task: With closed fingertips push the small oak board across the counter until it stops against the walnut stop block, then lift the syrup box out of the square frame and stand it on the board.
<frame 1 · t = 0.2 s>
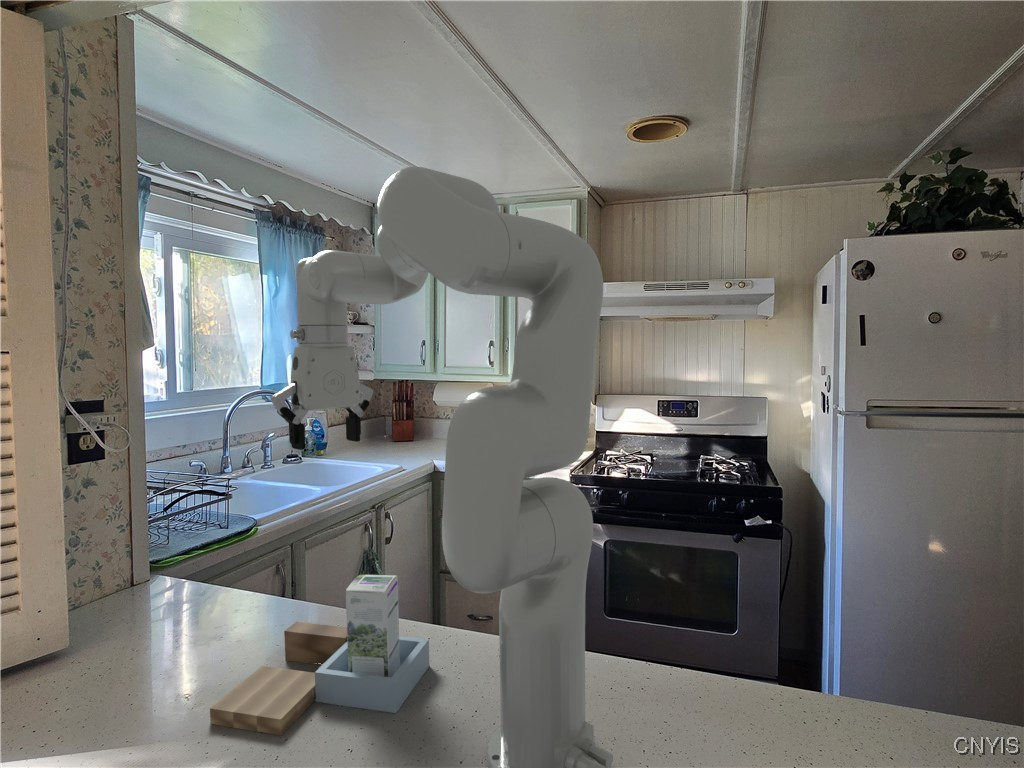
hand: (326, 444, 95), 31 cm above the counter, fingers open, 9 cm apart
board: (271, 705, 77), on the counter
syrup box: (375, 684, 82), resting in square frame
square frame: (375, 682, 82), on the counter
stop: (320, 658, 88), on the counter
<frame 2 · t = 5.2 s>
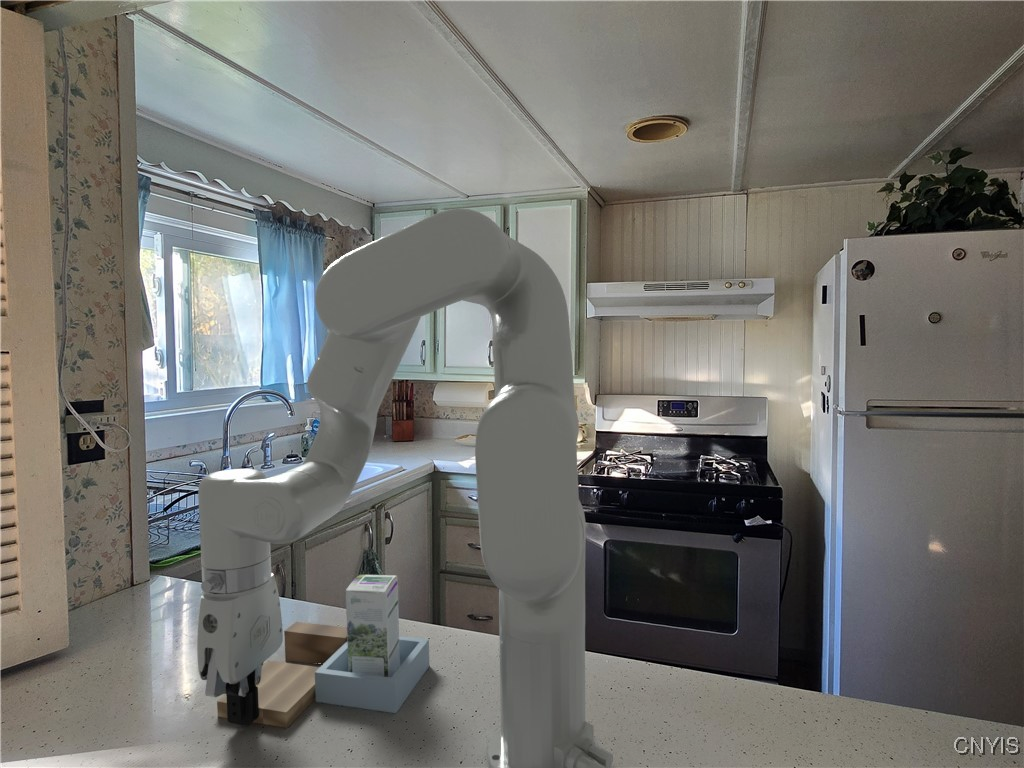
hand: (243, 720, 72), 1 cm above the counter, fingers closed
board: (277, 698, 79), on the counter, touching gripper
everything else where it was.
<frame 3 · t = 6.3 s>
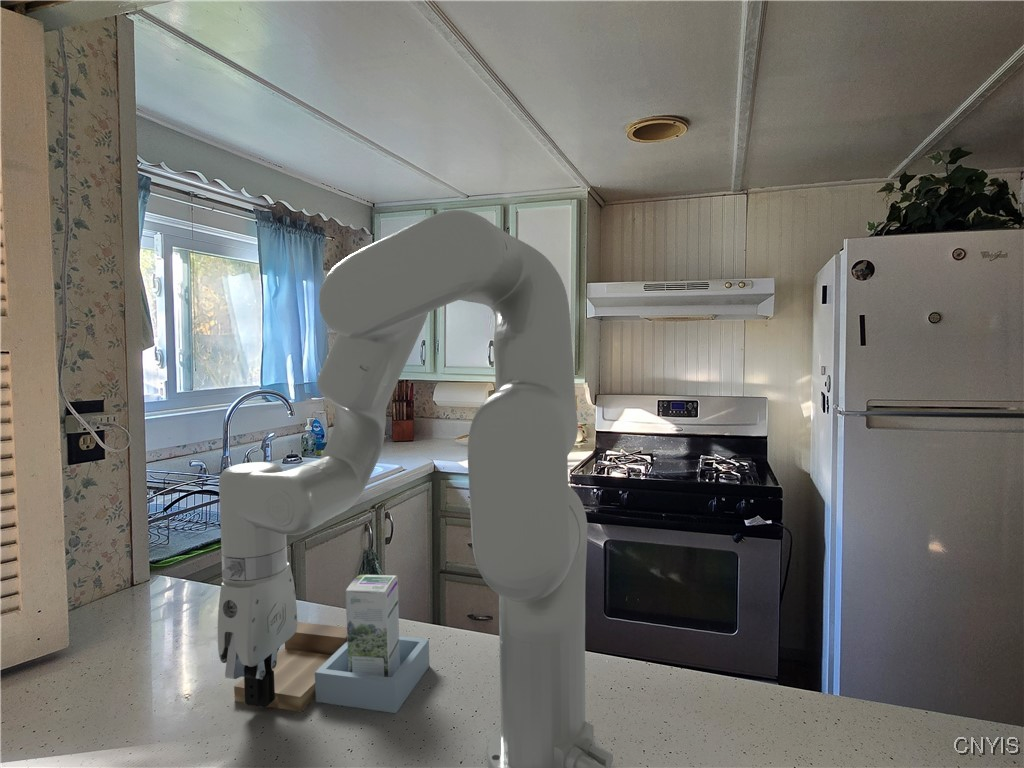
hand: (260, 702, 76), 1 cm above the counter, fingers closed
board: (291, 684, 82), on the counter, touching gripper
everything else where it was.
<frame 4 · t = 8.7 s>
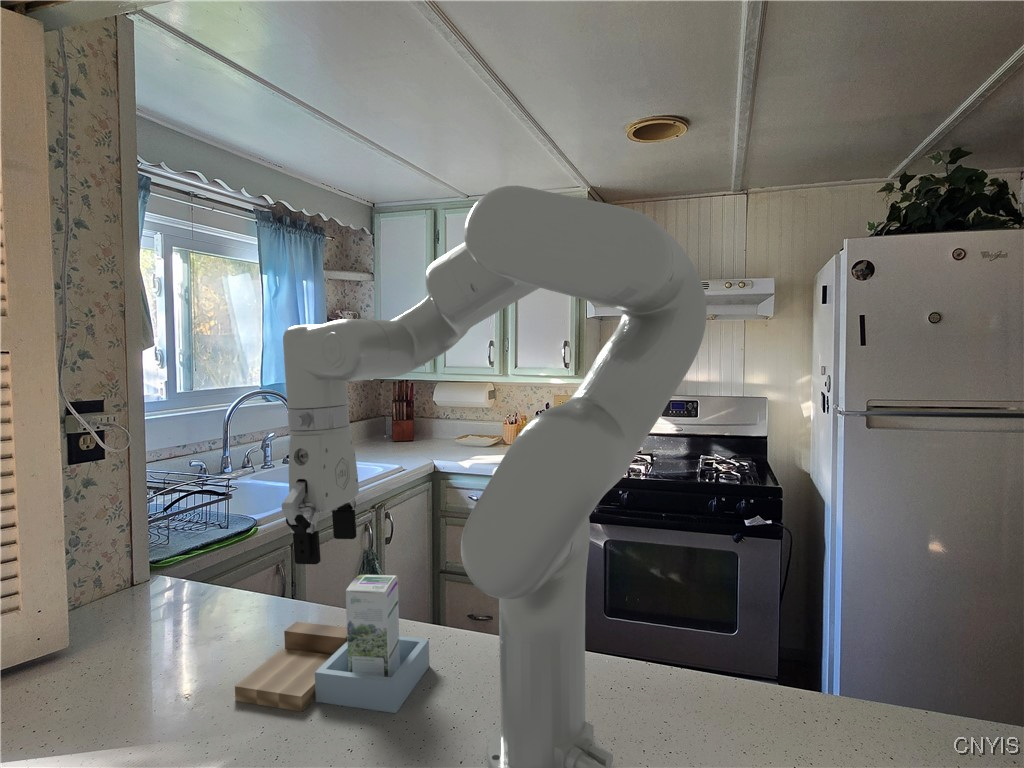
hand: (327, 550, 78), 20 cm above the counter, fingers open, 9 cm apart
board: (291, 684, 82), on the counter
everything else where it was.
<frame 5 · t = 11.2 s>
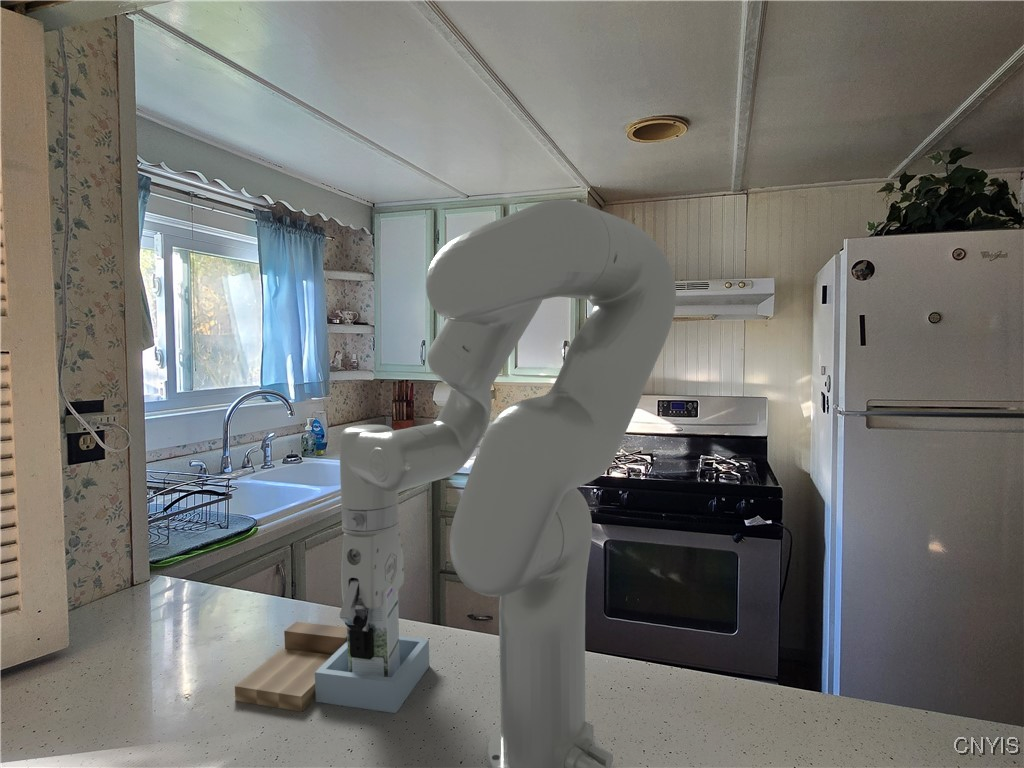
hand: (374, 643, 82), 6 cm above the counter, fingers closed on syrup box, 6 cm apart
syrup box: (375, 684, 82), resting in square frame, touching gripper
everything else where it was.
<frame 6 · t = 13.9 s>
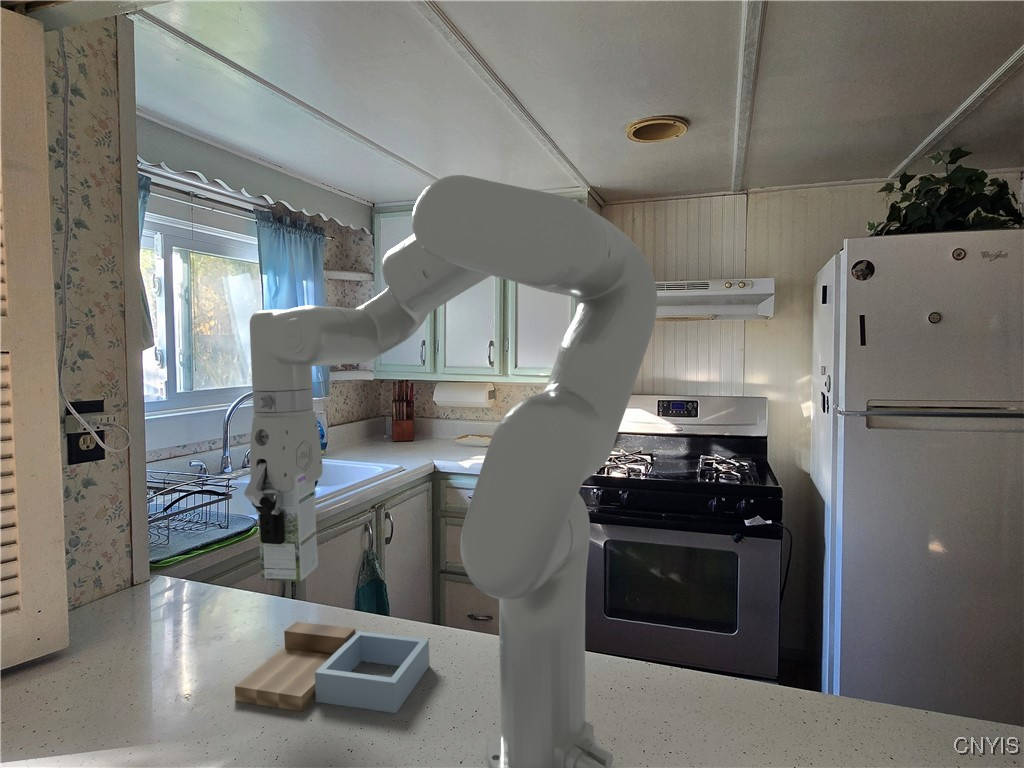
hand: (288, 533, 80), 21 cm above the counter, fingers closed on syrup box, 6 cm apart
syrup box: (290, 575, 81), point 15 cm above the counter, touching gripper
everything else where it was.
when the fingers open (8 cm above the counter, at t = 16.7 s): syrup box stays where it is, resting on board.
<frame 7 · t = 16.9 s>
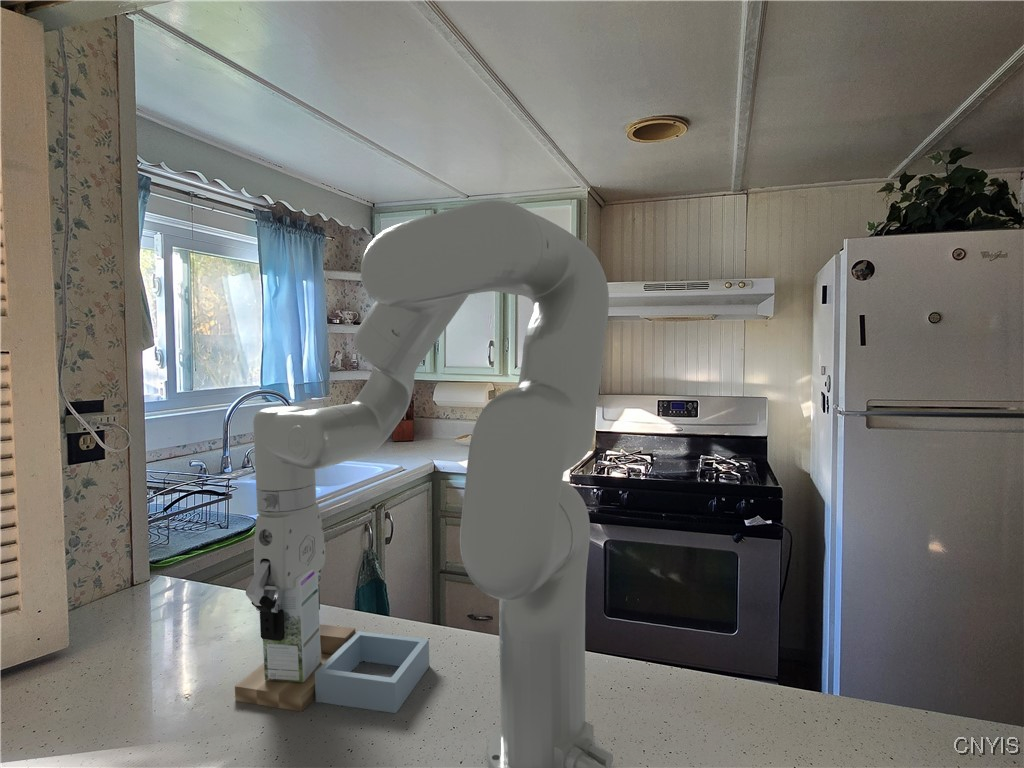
hand: (291, 623, 81), 9 cm above the counter, fingers open, 7 cm apart
board: (291, 684, 82), on the counter, touching syrup box
syrup box: (293, 672, 81), point 2 cm above the counter, touching board
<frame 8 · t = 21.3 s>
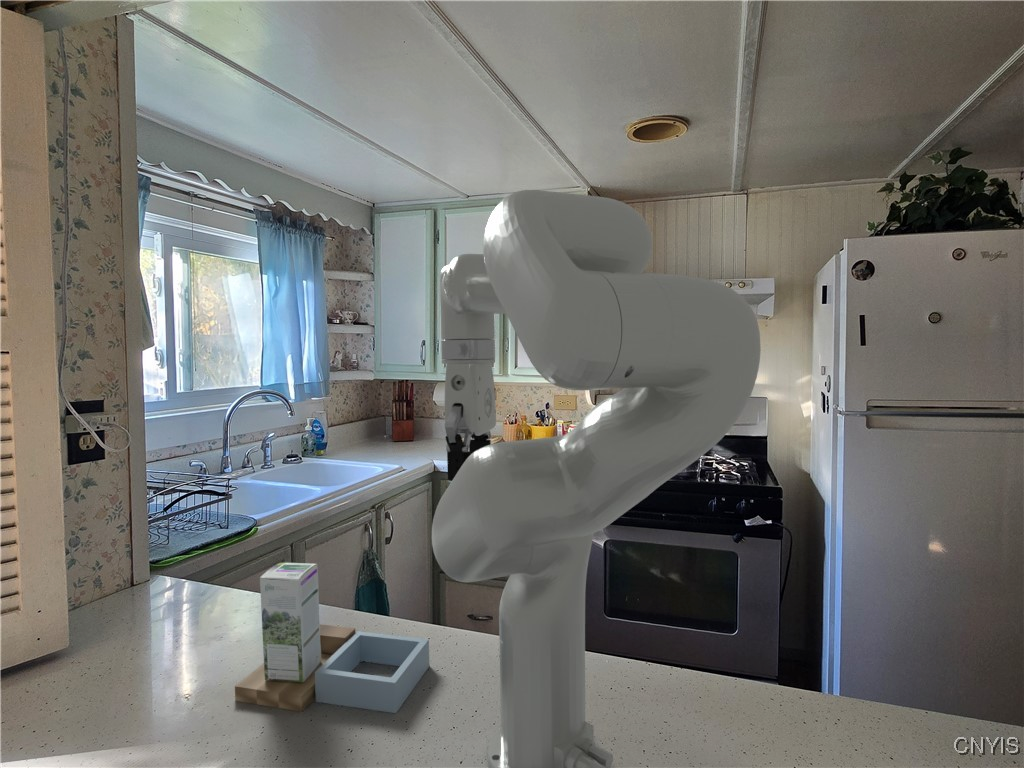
hand: (470, 473, 84), 28 cm above the counter, fingers open, 9 cm apart
nothing on the counter moved.
at the end: board 7.0 cm from the stop (horizontally); syrup box inside the target area on the board (0.5 cm from its centre), point 1.8 cm above the board's base; syrup box tilted 0° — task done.
